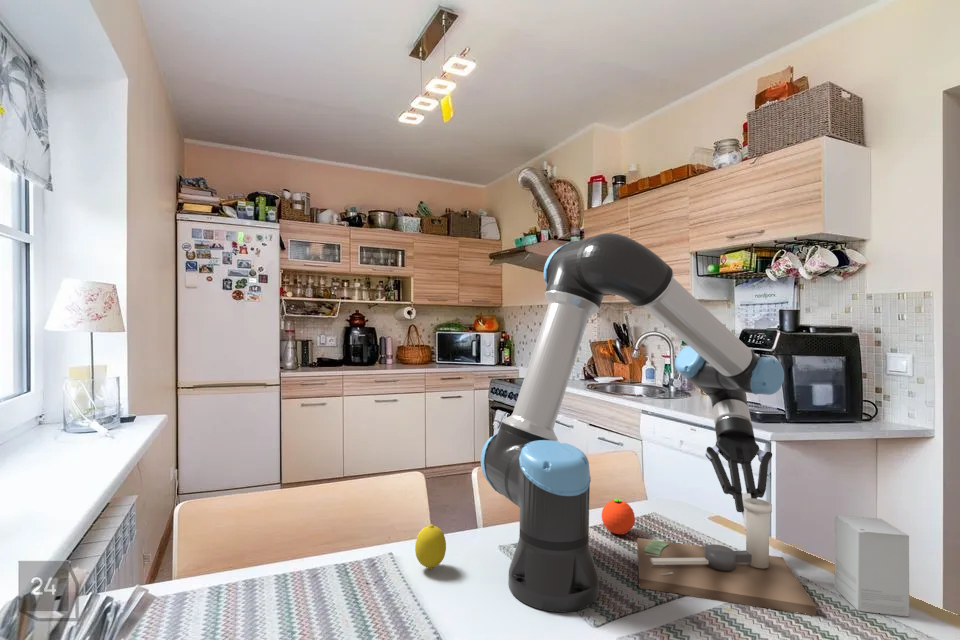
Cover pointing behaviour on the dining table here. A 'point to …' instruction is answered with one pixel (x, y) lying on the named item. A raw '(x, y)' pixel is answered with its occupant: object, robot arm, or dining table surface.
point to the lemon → (430, 546)
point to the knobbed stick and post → (727, 557)
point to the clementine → (618, 516)
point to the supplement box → (872, 565)
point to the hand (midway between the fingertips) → (750, 528)
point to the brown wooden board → (722, 578)
